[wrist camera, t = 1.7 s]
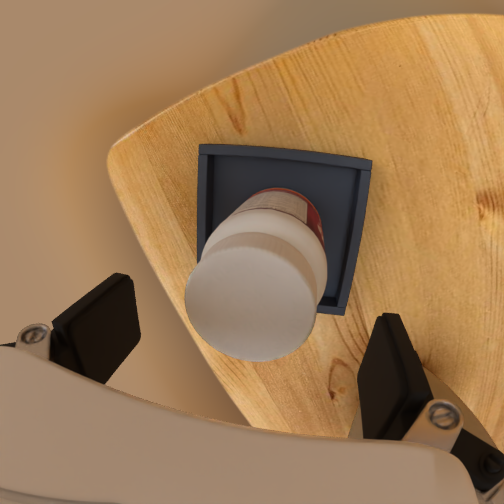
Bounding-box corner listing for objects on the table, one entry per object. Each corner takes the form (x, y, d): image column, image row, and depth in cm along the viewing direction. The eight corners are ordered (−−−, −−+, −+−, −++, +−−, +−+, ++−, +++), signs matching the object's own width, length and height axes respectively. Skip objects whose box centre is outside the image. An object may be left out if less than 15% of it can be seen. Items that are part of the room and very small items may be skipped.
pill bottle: (315, 272, 22) (315, 381, 12) (235, 261, 23) (177, 357, 12) (327, 191, 20) (347, 246, 9) (239, 181, 21) (168, 224, 10)
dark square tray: (207, 143, 20) (198, 144, 19) (366, 159, 19) (372, 160, 17) (204, 284, 25) (197, 295, 23) (342, 303, 23) (344, 316, 21)
